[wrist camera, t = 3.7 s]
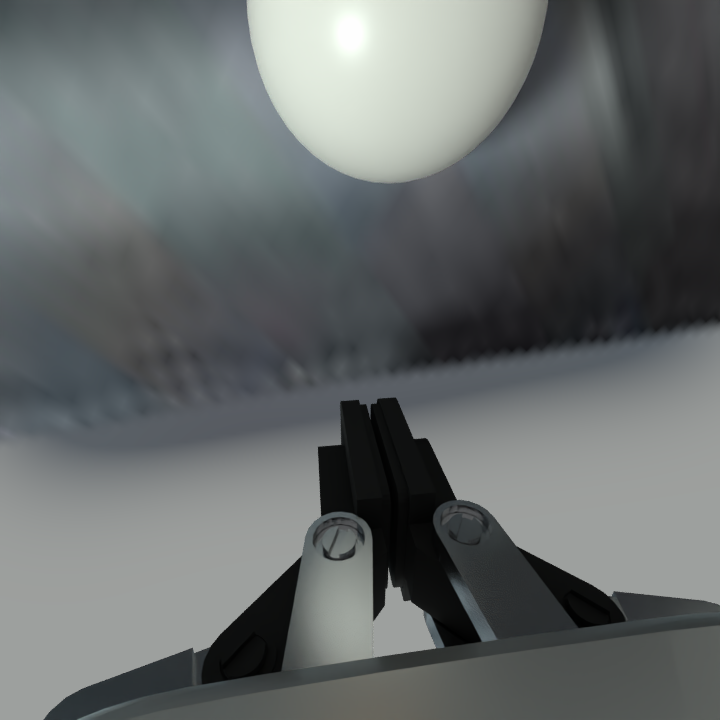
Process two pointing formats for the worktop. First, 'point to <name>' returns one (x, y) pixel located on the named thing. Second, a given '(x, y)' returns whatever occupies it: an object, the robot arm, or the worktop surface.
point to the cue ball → (393, 77)
